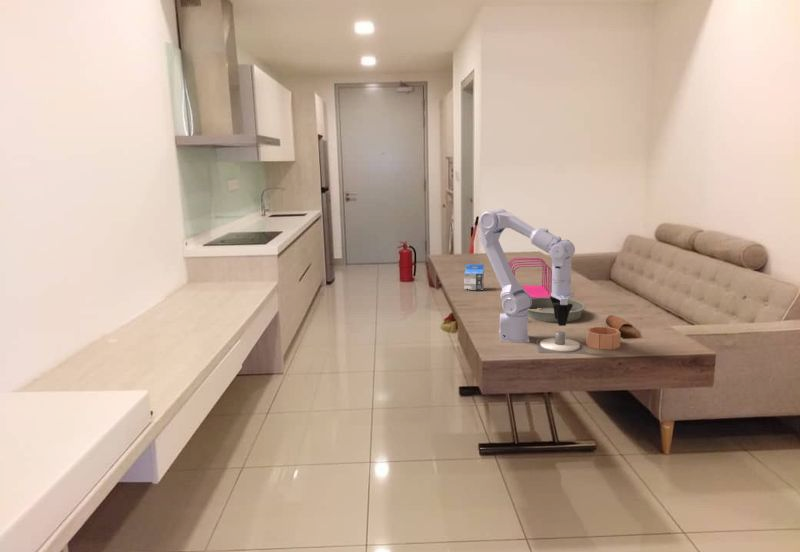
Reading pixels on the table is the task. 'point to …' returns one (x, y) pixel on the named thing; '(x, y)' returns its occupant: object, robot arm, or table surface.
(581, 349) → the mat
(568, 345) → the lid
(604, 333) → the bowl
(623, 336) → the sunglasses case
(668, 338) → the table surface
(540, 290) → the file sorter
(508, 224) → the robot arm
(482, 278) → the label tape box
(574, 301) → the cake pan
